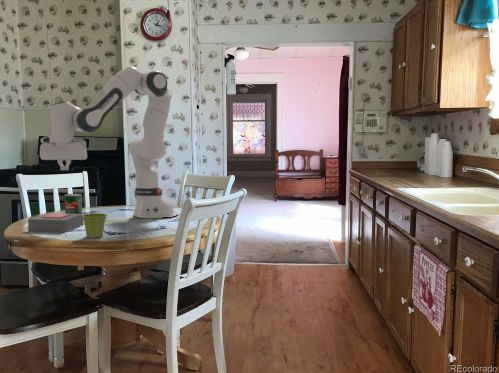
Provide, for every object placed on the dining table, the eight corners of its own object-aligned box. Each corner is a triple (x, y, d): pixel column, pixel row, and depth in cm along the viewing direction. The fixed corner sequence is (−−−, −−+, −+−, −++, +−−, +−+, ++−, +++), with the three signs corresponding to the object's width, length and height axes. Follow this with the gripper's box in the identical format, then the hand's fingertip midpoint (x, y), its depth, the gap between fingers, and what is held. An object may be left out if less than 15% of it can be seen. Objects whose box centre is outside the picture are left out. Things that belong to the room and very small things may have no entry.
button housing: (83, 225, 200) (82, 213, 199) (65, 232, 184) (65, 220, 183) (48, 223, 201) (48, 212, 200) (28, 231, 185) (28, 219, 185)
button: (70, 223, 196) (69, 214, 196) (61, 227, 188) (60, 217, 188) (52, 223, 197) (52, 213, 196) (42, 226, 189) (42, 216, 188)
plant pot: (87, 233, 182) (87, 212, 181) (110, 234, 181) (110, 213, 180) (78, 238, 172) (77, 216, 171) (102, 239, 172) (102, 217, 171)
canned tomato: (82, 215, 226) (82, 193, 225) (82, 217, 218) (81, 195, 217) (65, 215, 223) (65, 193, 222) (64, 218, 216) (64, 195, 215)
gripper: (88, 138, 200) (90, 169, 202) (44, 138, 201) (46, 169, 203) (82, 138, 194) (84, 170, 195) (37, 139, 195) (39, 170, 197)
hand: (64, 170), depth 199 cm, fingers closed
